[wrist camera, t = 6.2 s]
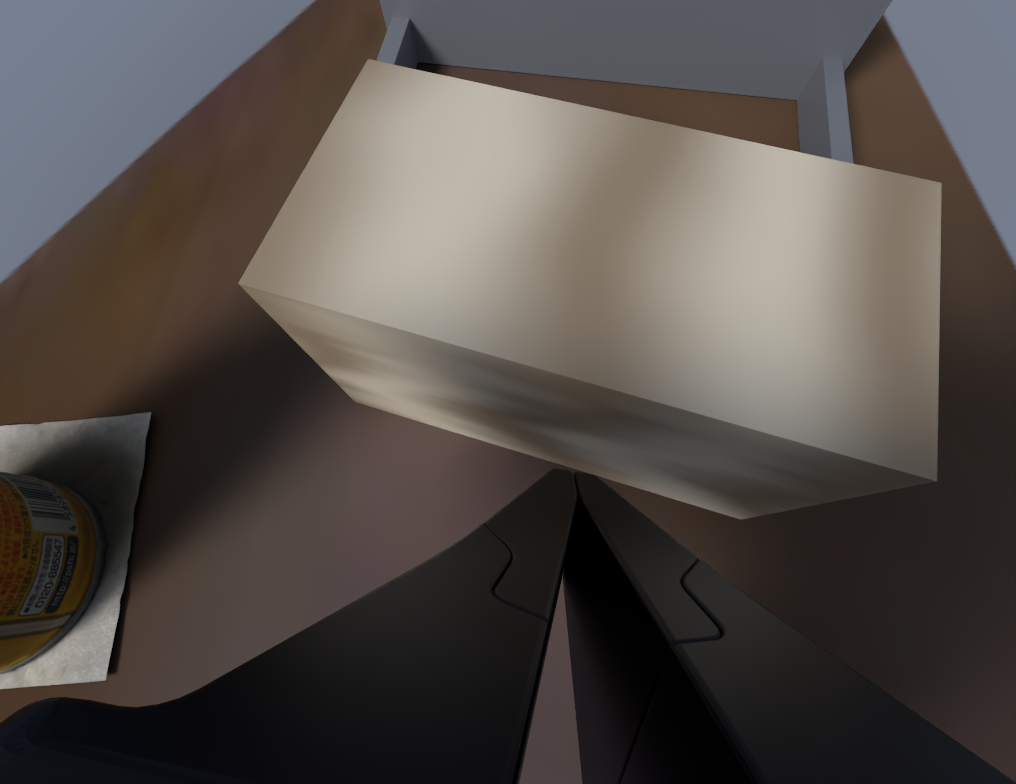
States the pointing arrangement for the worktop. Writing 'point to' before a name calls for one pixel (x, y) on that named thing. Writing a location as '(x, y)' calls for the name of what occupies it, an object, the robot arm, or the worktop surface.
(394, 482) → the worktop surface
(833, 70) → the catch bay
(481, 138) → the wide block
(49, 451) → the condiment
